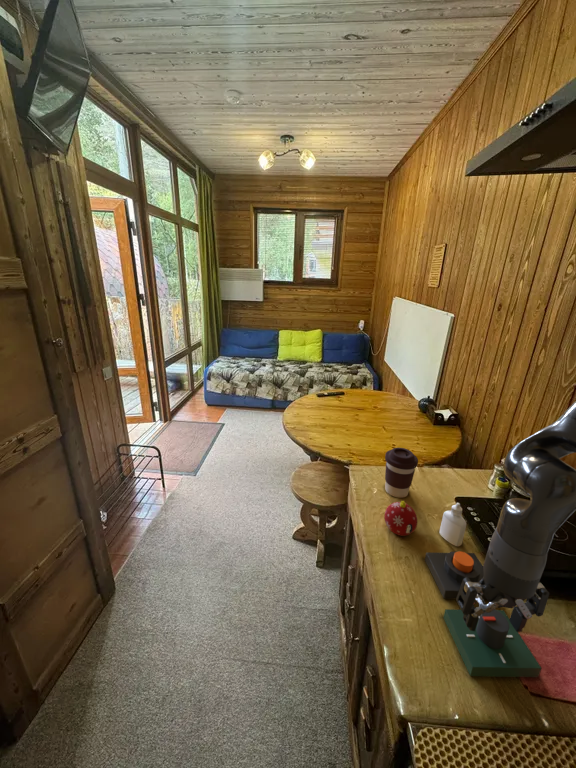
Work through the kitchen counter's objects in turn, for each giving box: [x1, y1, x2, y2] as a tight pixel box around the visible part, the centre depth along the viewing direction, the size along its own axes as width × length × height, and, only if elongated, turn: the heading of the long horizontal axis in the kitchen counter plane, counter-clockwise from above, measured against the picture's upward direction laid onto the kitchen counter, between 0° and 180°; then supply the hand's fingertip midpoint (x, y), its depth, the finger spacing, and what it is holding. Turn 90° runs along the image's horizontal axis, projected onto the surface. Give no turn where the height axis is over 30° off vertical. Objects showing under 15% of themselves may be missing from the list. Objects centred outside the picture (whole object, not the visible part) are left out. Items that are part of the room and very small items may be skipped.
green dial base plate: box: [443, 608, 542, 678], centre depth 58 cm, size 12×10×3 cm
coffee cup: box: [384, 447, 419, 499], centre depth 100 cm, size 10×10×15 cm
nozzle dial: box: [476, 609, 509, 649], centre depth 57 cm, size 4×4×5 cm
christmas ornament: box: [384, 500, 418, 537], centre depth 85 cm, size 9×9×10 cm
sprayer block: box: [424, 551, 487, 600], centre depth 71 cm, size 12×10×5 cm
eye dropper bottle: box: [438, 502, 467, 547], centre depth 82 cm, size 4×6×12 cm
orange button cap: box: [453, 551, 474, 573], centre depth 70 cm, size 4×4×2 cm
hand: (492, 626), depth 57 cm, fingers open, 8 cm apart
